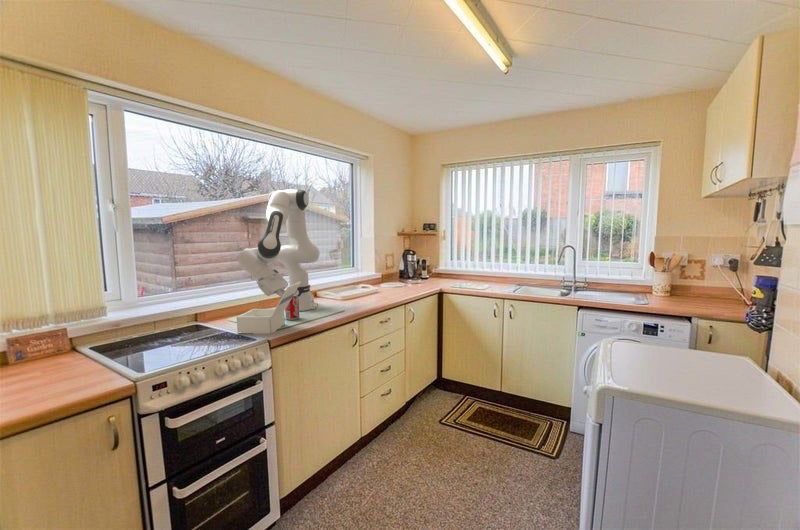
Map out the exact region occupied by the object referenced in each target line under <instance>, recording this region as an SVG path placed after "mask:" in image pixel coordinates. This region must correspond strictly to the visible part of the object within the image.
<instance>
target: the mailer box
mask: <svg viewBox="0 0 800 530" xmlns="http://www.w3.org/2000/svg"><path fill="white" fill-rule="evenodd" d="M274 310H275V308H251V309H250V310H248V311H246V312H244V313H241V314H240V315H238V316H236V324H237V325H236V327H237V333H238V332H241V333H253V334H252V335H272V334H273V333H275V332H276V331H277V329H278V328H279V329H280V328H282V327H283V326H284V324H285V310H283V311H281V312H280V313H278V314H276V315H275V316H273V317H271V315H272V313H273V312H274ZM282 325H283V326H282ZM281 326H282V327H281ZM279 329H278V330H279Z"/></svg>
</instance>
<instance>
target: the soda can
mask: <svg viewBox="0 0 800 530" xmlns="http://www.w3.org/2000/svg"><path fill="white" fill-rule="evenodd" d="M284 314H285V319H286V320H287V319H288V320H287V321H295V320H294V319H296V320H298V319H299V318H300V311H299V299H298V296H297V294H294V296H293V297H292V299H291V300H290V302H289V304H288V306H287V307H286V309H285V310H284Z"/></svg>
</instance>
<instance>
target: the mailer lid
mask: <svg viewBox="0 0 800 530" xmlns="http://www.w3.org/2000/svg"><path fill="white" fill-rule="evenodd" d="M300 283H301V282H298V283H295V284H293V285H291V286H290V285H288V286H287V287H286V288H285V292H284V294H283V296H282V297H280V299H279V301H278V303H277V305H276V306H275V308H274V309H275V310H274V312H273V313H272V315H271V317H273V316H275V315H276V314H278V313H280V312H281V311H283V310H284V311H285V309H286V307H287V306H288V304H289V302H290V300H291V299H292V297H293V296H294V294H295V292H296V290H297V288H298V287H299V285H300Z"/></svg>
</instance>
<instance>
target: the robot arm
mask: <svg viewBox="0 0 800 530" xmlns="http://www.w3.org/2000/svg"><path fill="white" fill-rule="evenodd" d="M267 199H268V200H267V201H268V203H267V206H266V207H267V208H266V213H265V220H266V222H267V225H266V230H265V232H264V235H262V237H261V238H260V239H259V240H258V243H257V247H253V248H249V247H246V248H244V249H243V250H242V251H241V252H240V253H239V255H238V257H237V262H238V263H239V265H240V267H241V268H242V269H243V270H244V271H245V272H246V273H247V274H249V275H250V276H251V278H252V279H253V280H254V281H255V282H256V283H257V286H258V288H259V289H260V291H261V292H263V294H265V296H266V297H270V296H273V295H275V294H276V295H278V296H279V297H280V298H282V296H283V294H284V292H285V291H286V289H287V287H289V286H291V285H293V284H295V283H298V282H301V283H300V285H299V287H298V288H297V290H296V292H295V294H297V296H298V299H299V312H302V311H304V312H305V311H309V310H310V311H311V310H315V309H316V308H317V306H318V304H319V303H318V301H315V298H314V297H315V296H314V295H313V293H312V292H311V284H309V273H308V272H307V270H306V269H304V268H302V267H300V265H299V264H310V263H314V262H315V263H316V262H317V261H318V259H320V258H319V257H320V251H319V248H318V247H317V246H316V245H315V244H313V242H312V241H311V239H310V238H309V237H308V233H307V232H308V231H307V223H306V213H305V209H306V208H307V207H308V205H309V201H310V200H309V195H308V193H307V191H306V190H304V189H291V188H289V189H288V188H287V189H281V190H280V189H279V190H273V191H271V192H270V193H269V194H268V198H267ZM285 224H286V234H287V236H288V237H289V238H290V239H293V240H294V241H295V242H296V244H284V245H282V244H281V240H280V234H281V228H282V226H284V225H285ZM277 261H278V262H280V263H281V264H282V265H283V266H284V267H285V268H286V269H285V270H286V271H287V274H288V280H289V282H288V281H287V280H286V279H285V278H284V277H283V276H282V274H280V272H279V270H276V269H273V268H272V267H271V268H270V267H269V266H272V265H273V264H275V262H277Z"/></svg>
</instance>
